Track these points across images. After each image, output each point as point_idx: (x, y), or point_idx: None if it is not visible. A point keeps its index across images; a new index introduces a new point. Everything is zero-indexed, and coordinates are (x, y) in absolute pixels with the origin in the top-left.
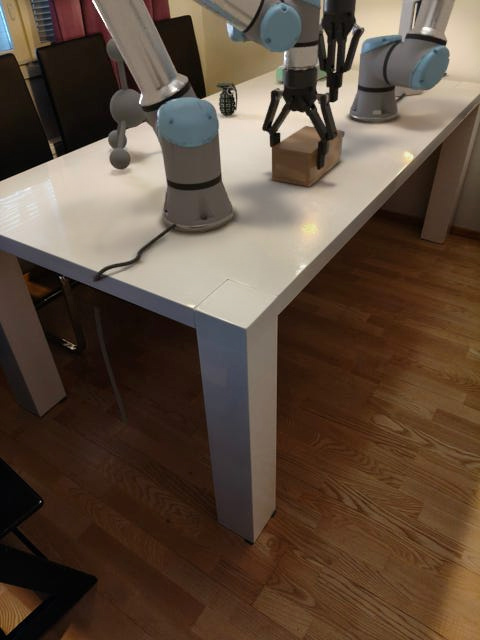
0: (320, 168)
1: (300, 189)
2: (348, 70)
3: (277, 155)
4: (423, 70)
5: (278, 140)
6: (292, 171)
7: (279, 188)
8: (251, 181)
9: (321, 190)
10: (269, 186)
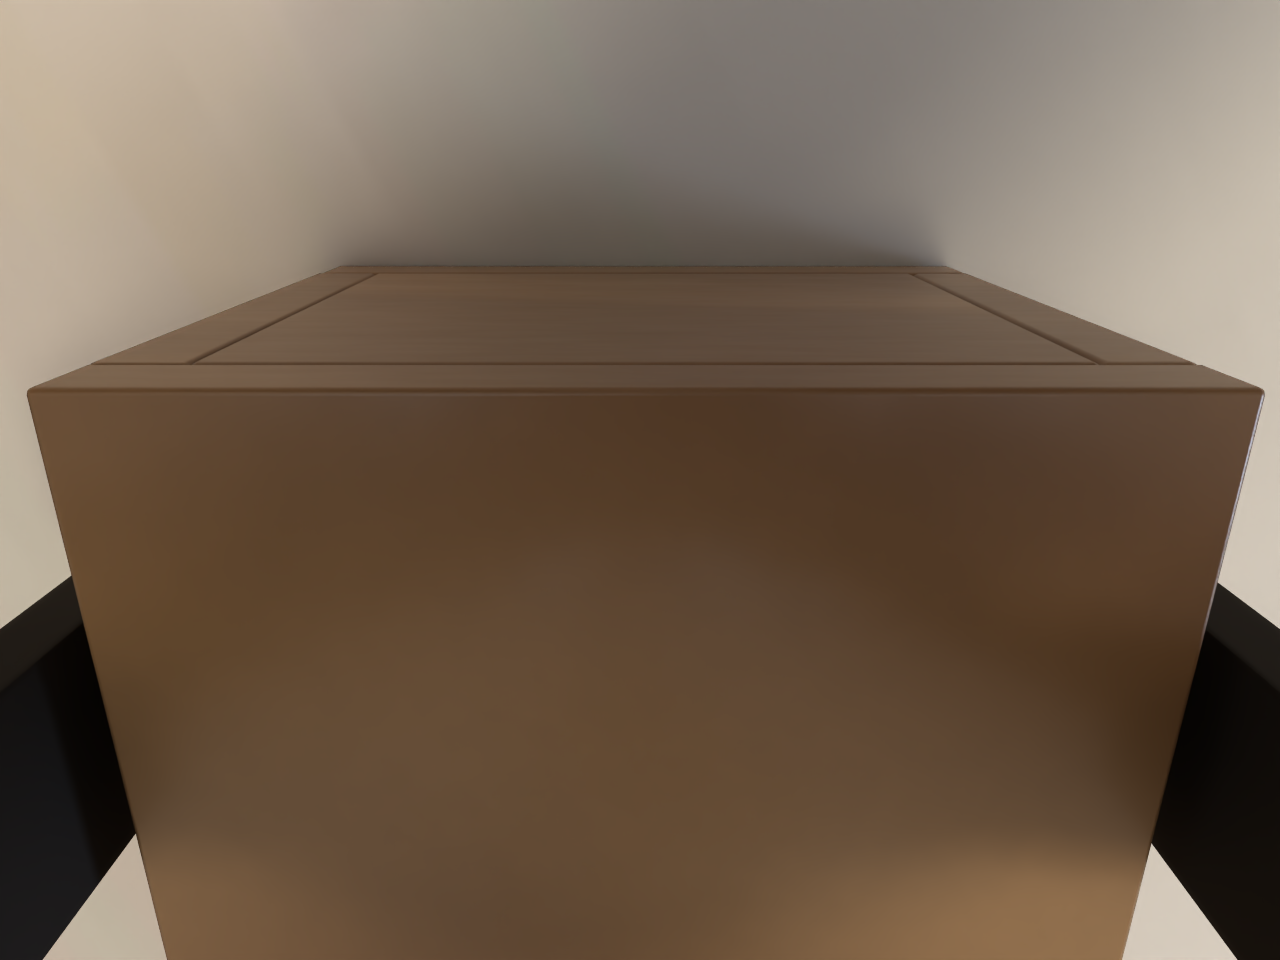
0: None
1: (403, 130)
2: None
3: (998, 348)
4: None
5: (1226, 834)
6: (603, 296)
7: (707, 16)
8: (1240, 76)
9: (128, 233)
10: (887, 18)
